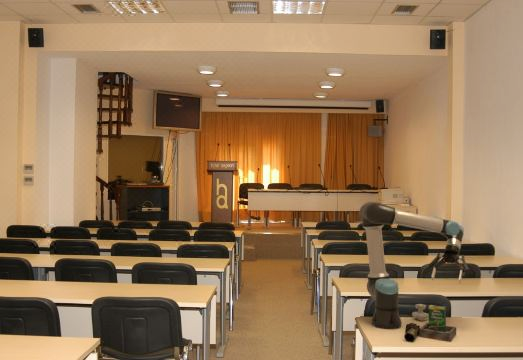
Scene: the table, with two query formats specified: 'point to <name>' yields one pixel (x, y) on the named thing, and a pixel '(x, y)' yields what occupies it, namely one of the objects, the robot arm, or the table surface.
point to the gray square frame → (437, 333)
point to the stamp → (420, 312)
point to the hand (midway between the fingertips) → (445, 280)
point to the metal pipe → (411, 332)
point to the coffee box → (437, 318)
